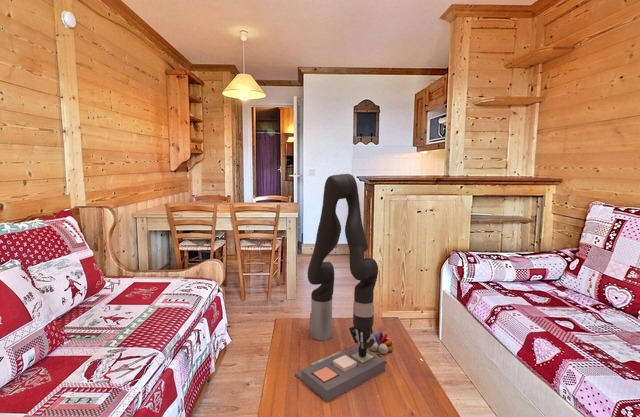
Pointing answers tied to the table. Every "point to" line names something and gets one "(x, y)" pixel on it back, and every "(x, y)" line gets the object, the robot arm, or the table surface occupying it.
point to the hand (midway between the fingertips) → (362, 356)
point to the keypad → (340, 374)
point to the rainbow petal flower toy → (382, 343)
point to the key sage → (362, 360)
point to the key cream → (344, 364)
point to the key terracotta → (325, 374)
